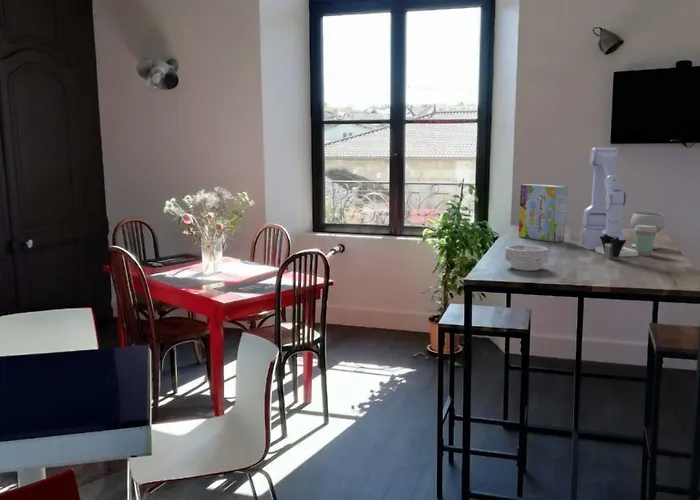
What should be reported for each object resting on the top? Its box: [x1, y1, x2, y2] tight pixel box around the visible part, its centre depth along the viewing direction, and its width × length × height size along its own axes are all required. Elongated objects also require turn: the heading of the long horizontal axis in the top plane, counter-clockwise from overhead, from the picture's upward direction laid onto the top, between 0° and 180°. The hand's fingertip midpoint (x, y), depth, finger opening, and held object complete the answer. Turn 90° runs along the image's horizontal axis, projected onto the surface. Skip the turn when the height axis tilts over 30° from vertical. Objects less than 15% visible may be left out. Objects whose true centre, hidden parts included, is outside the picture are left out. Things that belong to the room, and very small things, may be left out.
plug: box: [603, 243, 620, 261], centre depth 258 cm, size 4×4×6 cm
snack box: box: [518, 183, 568, 243], centre depth 306 cm, size 22×9×26 cm, turn 34°
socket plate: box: [595, 246, 639, 257], centre depth 269 cm, size 12×12×2 cm
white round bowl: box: [504, 244, 549, 272], centre depth 237 cm, size 15×15×8 cm
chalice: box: [630, 211, 667, 250], centre depth 285 cm, size 14×14×15 cm
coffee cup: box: [634, 225, 658, 257], centre depth 267 cm, size 8×8×12 cm
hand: (611, 255), depth 258 cm, fingers open, 6 cm apart
